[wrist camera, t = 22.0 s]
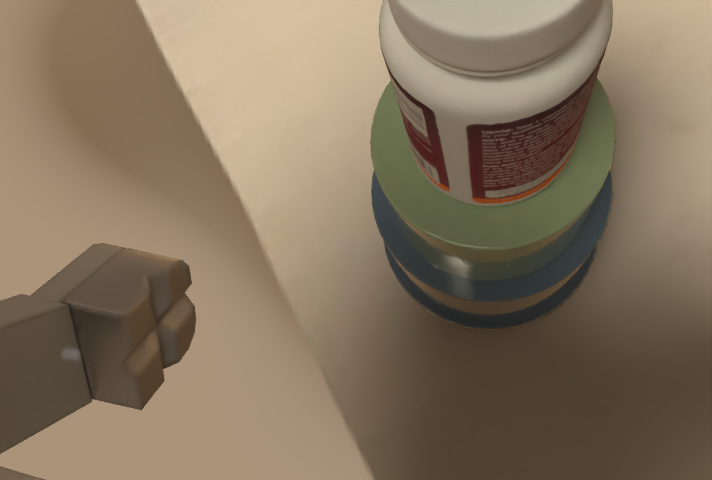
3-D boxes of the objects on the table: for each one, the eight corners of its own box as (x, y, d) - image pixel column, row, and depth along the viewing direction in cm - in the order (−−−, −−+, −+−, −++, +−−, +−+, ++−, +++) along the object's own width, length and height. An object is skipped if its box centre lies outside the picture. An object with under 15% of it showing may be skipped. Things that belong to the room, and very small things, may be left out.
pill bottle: (596, 79, 19) (675, -161, 11) (547, 231, 18) (594, 88, 10) (439, 42, 20) (410, -198, 13) (386, 183, 20) (319, 21, 12)
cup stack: (636, 278, 27) (718, 203, 18) (433, 364, 28) (406, 336, 18) (537, 98, 30) (562, -50, 21) (354, 180, 31) (296, 73, 21)
